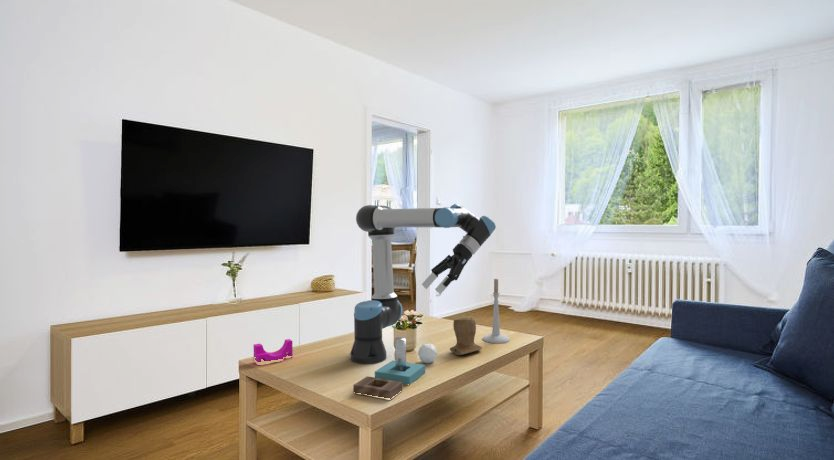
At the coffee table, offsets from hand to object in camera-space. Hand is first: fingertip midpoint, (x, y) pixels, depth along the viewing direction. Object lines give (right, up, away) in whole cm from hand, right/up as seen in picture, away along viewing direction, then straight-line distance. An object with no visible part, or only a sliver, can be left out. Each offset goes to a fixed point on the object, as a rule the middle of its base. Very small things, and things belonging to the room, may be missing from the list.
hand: (430, 289), depth 172 cm
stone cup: (+16, -31, +26) cm, 44 cm away
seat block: (-11, -32, -4) cm, 34 cm away
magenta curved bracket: (-64, -32, +14) cm, 73 cm away
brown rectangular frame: (-18, -32, -20) cm, 42 cm away
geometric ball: (-1, -32, +12) cm, 34 cm away
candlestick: (+33, -31, +46) cm, 64 cm away
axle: (-11, -32, -4) cm, 34 cm away
